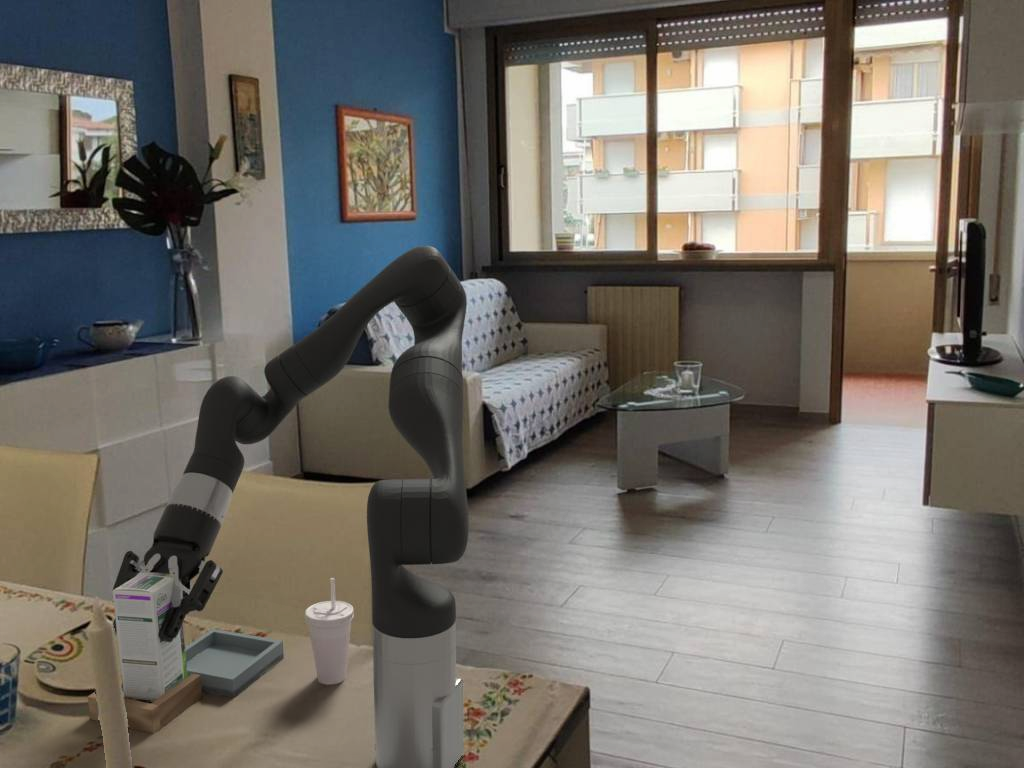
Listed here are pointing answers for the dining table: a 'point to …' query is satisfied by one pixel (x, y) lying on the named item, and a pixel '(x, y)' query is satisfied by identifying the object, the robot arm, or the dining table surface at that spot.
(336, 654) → the smoothie
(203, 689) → the tray
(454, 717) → the robot arm
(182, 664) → the syrup box
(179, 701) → the holder
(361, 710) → the dining table surface
